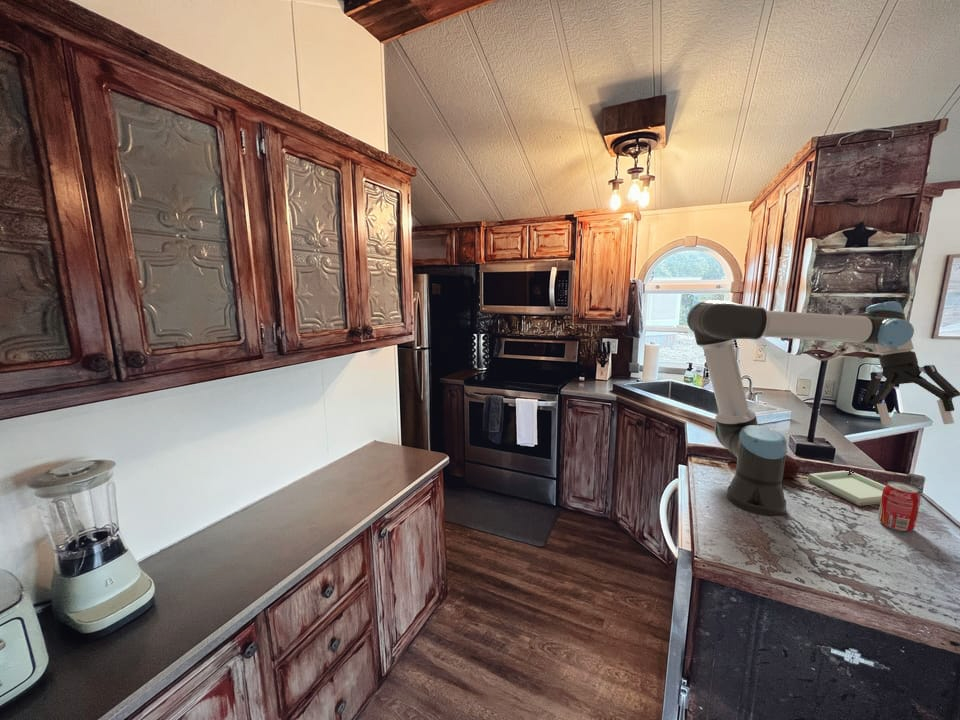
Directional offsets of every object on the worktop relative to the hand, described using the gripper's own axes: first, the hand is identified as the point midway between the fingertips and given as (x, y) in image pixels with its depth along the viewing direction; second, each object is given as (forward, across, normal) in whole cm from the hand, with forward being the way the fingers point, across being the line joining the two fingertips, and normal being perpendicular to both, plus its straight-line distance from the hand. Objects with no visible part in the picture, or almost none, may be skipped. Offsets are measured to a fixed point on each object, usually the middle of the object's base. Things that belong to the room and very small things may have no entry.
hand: (916, 424), depth 110 cm
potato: (+16, +34, +15) cm, 40 cm away
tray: (+21, +20, +1) cm, 29 cm away
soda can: (+27, +4, +12) cm, 30 cm away
